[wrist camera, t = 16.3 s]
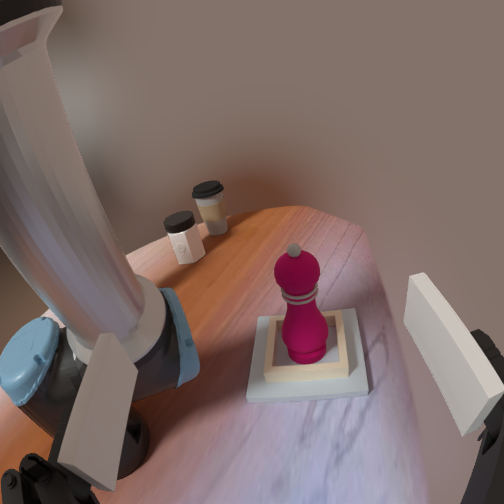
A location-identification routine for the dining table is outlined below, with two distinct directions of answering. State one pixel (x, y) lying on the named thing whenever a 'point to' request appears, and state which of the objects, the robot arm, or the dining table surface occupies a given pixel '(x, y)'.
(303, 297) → the pepper mill
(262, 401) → the board
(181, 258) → the jar
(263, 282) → the dining table surface
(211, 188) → the coffee cup
